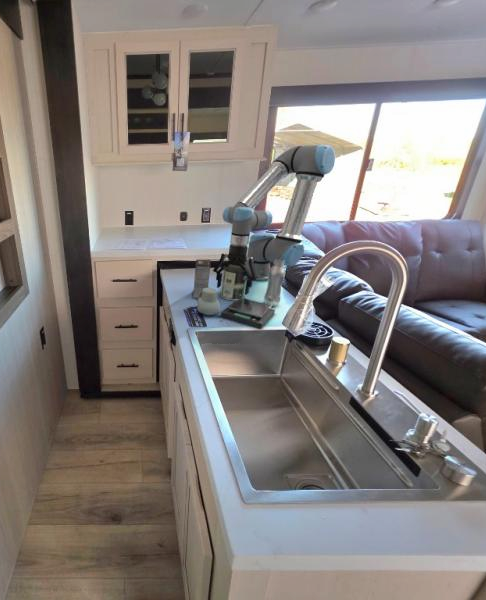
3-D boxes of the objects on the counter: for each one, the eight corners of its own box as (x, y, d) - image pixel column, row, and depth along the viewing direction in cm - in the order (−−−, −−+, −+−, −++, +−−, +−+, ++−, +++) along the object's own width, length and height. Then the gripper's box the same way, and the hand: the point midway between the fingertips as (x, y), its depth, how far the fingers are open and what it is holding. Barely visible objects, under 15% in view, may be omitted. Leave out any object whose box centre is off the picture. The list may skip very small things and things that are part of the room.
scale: (236, 303, 138) (236, 298, 137) (274, 314, 129) (275, 308, 128) (220, 316, 127) (221, 311, 126) (261, 328, 117) (262, 323, 116)
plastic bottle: (272, 308, 133) (281, 263, 125) (259, 303, 139) (267, 259, 131) (282, 305, 136) (292, 261, 128) (269, 300, 141) (277, 257, 133)
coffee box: (193, 291, 152) (196, 258, 145) (206, 291, 151) (210, 259, 144) (192, 298, 143) (195, 264, 137) (207, 299, 142) (210, 265, 136)
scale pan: (240, 299, 136) (240, 297, 136) (271, 307, 128) (271, 305, 128) (228, 309, 127) (228, 307, 126) (260, 318, 119) (261, 316, 119)
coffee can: (243, 293, 149) (247, 265, 143) (243, 302, 140) (248, 271, 134) (220, 290, 152) (224, 262, 146) (219, 299, 143) (223, 269, 137)
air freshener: (219, 318, 125) (222, 295, 121) (197, 317, 126) (200, 294, 122) (216, 307, 135) (219, 285, 131) (196, 306, 136) (198, 284, 132)
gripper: (208, 241, 140) (204, 286, 149) (265, 250, 126) (256, 299, 135) (216, 238, 146) (211, 282, 154) (271, 247, 131) (262, 294, 140)
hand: (232, 290), depth 144 cm, fingers open, 12 cm apart
